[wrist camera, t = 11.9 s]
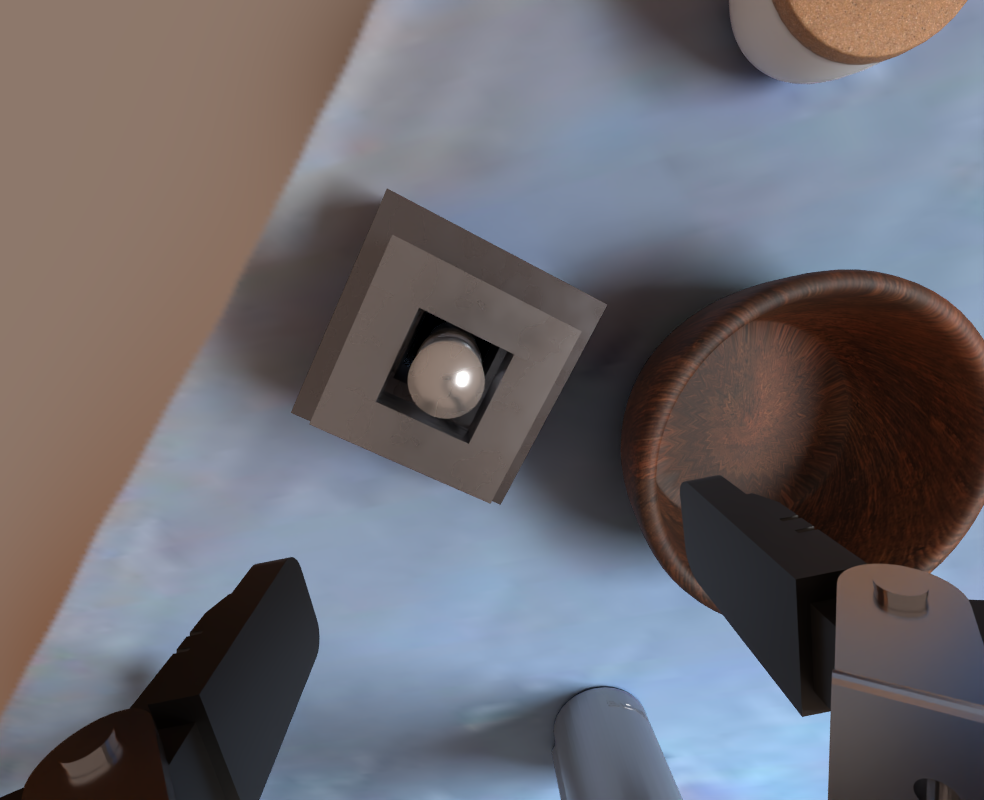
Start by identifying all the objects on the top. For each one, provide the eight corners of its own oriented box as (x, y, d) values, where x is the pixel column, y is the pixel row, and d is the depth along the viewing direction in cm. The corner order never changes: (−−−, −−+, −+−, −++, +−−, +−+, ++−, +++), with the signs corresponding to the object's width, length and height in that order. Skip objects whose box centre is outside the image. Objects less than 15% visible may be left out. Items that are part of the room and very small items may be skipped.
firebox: (495, 474, 42) (509, 555, 30) (316, 393, 40) (248, 445, 27) (585, 301, 39) (644, 310, 27) (398, 203, 37) (366, 162, 24)
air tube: (463, 382, 40) (464, 433, 27) (416, 358, 40) (392, 399, 26) (487, 335, 40) (500, 363, 26) (439, 311, 39) (426, 326, 25)
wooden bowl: (561, 526, 44) (590, 597, 34) (649, 237, 39) (714, 220, 29) (816, 578, 47) (913, 658, 37) (930, 315, 41) (1078, 325, 32)
